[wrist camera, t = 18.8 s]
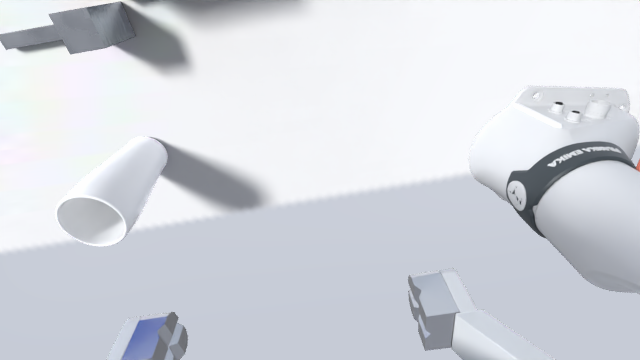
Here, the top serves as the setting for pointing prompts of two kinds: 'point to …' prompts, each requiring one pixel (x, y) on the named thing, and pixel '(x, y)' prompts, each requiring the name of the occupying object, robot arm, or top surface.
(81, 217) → the drinking glass
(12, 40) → the mallet
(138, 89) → the top surface
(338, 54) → the top surface
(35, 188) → the top surface
